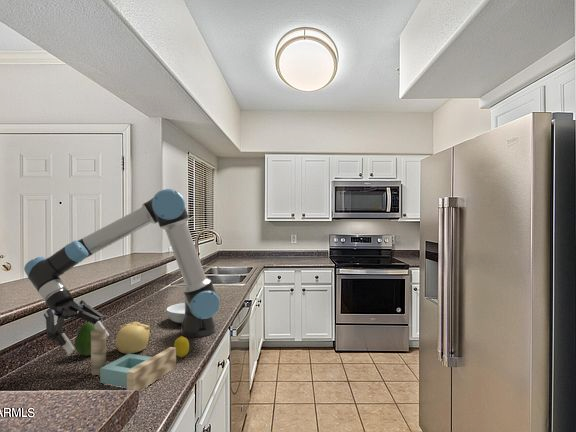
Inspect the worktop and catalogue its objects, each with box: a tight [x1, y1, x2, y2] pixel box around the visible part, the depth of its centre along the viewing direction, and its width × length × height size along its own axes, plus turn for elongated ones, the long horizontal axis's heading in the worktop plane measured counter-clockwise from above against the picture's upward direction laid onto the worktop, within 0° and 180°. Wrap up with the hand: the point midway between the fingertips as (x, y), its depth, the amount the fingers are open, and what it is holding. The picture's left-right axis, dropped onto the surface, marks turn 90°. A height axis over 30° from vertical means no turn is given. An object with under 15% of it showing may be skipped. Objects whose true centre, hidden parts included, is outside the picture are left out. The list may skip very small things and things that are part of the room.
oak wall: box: [126, 346, 177, 393], centre depth 112 cm, size 20×2×7 cm, turn 162°
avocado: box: [74, 322, 95, 357], centre depth 133 cm, size 8×8×12 cm
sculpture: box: [115, 321, 151, 355], centre depth 137 cm, size 12×12×11 cm
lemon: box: [173, 335, 190, 359], centre depth 130 cm, size 6×6×8 cm
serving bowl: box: [166, 302, 185, 324], centre depth 174 cm, size 21×21×7 cm
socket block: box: [99, 353, 153, 388], centre depth 114 cm, size 12×12×5 cm
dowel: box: [90, 328, 107, 376], centre depth 118 cm, size 4×4×14 cm
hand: (90, 344), depth 118 cm, fingers open, 13 cm apart
